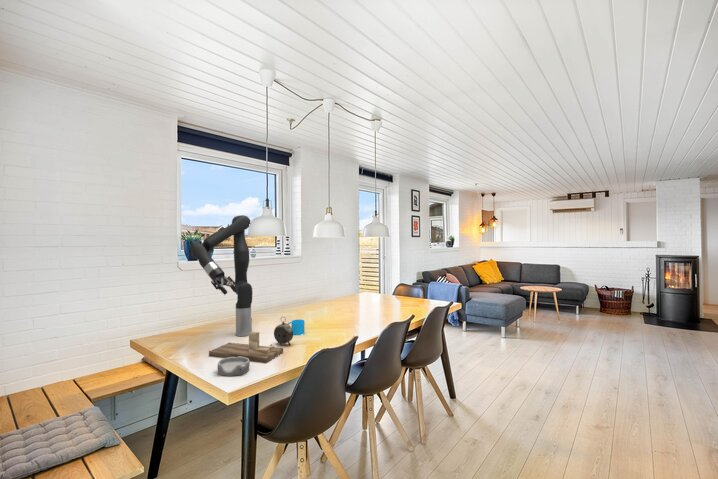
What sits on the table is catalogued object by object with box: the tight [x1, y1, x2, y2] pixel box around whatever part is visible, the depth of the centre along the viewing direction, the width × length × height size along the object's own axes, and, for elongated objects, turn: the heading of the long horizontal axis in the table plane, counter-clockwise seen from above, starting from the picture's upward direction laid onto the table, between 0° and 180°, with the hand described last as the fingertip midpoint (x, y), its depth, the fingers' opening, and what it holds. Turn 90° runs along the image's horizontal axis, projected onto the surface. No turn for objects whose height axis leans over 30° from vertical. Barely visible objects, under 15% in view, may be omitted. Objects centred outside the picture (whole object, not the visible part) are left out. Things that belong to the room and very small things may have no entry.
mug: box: [287, 319, 306, 336], centre depth 222 cm, size 12×8×8 cm
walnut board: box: [208, 342, 284, 364], centre depth 182 cm, size 16×34×2 cm, turn 73°
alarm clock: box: [273, 316, 294, 347], centre depth 198 cm, size 11×5×16 cm, turn 65°
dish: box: [217, 356, 251, 377], centre depth 159 cm, size 14×14×5 cm
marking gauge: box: [248, 330, 274, 355], centre depth 181 cm, size 10×10×10 cm
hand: (231, 292), depth 194 cm, fingers open, 8 cm apart
